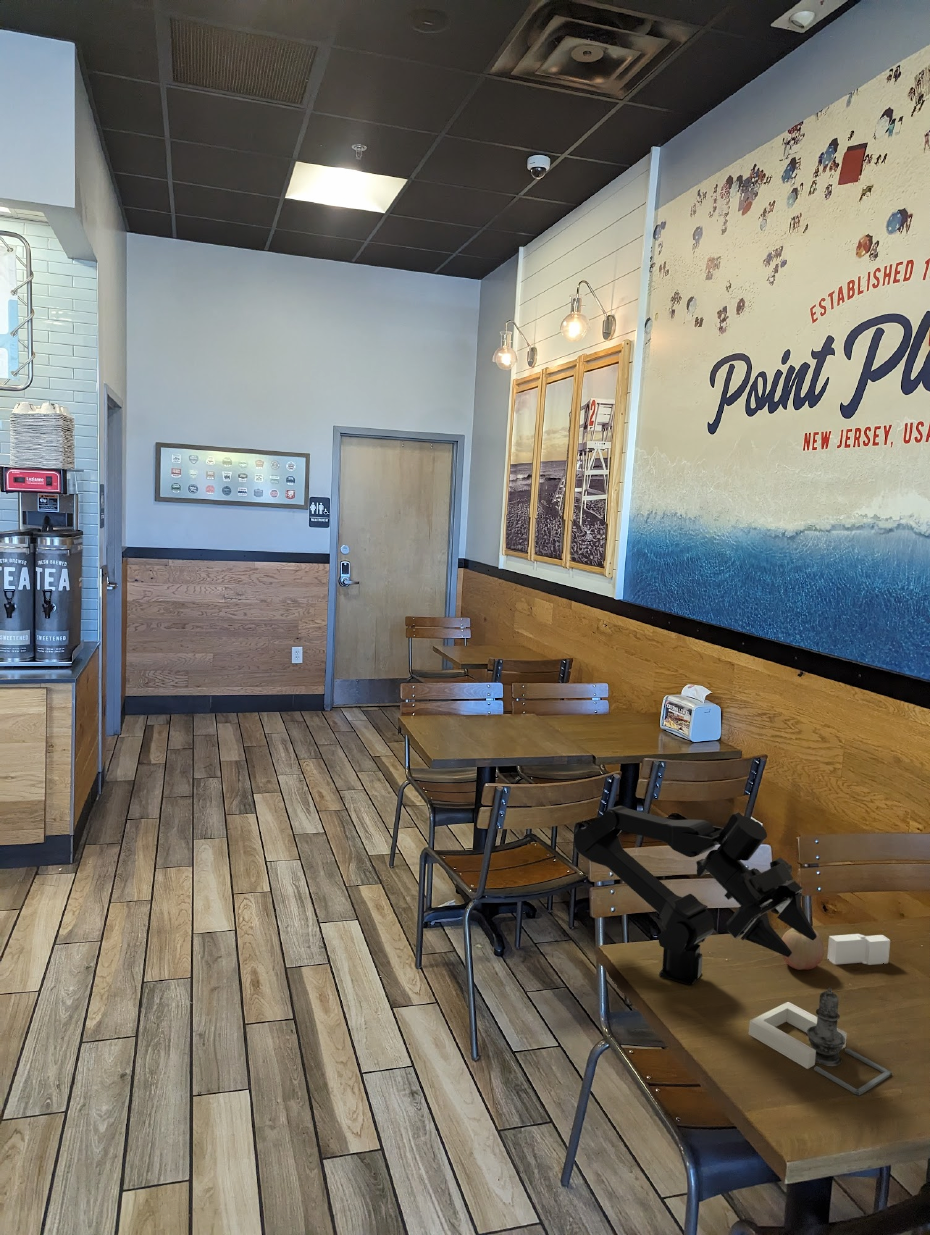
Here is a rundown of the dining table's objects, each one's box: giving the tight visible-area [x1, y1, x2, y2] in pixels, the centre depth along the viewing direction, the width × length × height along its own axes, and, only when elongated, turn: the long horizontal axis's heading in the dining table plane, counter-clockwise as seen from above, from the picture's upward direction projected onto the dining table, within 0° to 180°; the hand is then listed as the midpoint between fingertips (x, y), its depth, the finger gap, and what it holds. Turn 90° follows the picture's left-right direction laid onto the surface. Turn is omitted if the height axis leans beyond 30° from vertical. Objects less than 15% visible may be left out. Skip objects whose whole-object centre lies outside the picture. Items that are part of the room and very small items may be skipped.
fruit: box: [781, 927, 825, 971], centre depth 172 cm, size 8×8×8 cm
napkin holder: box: [826, 933, 891, 966], centre depth 175 cm, size 15×11×6 cm
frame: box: [813, 1047, 893, 1097], centre depth 139 cm, size 8×10×1 cm
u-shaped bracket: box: [748, 1001, 848, 1070], centre depth 147 cm, size 11×11×2 cm
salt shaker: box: [806, 987, 845, 1067], centre depth 142 cm, size 6×6×12 cm
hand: (803, 946), depth 149 cm, fingers open, 9 cm apart
